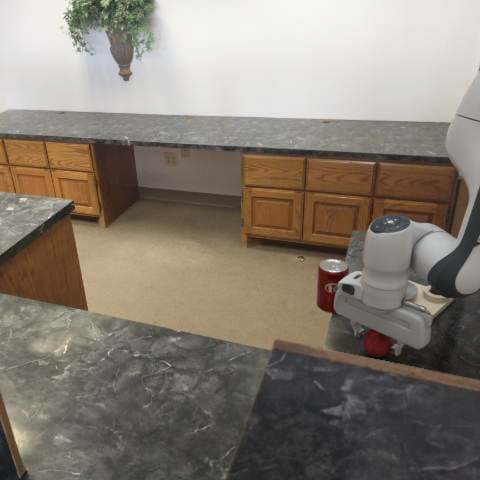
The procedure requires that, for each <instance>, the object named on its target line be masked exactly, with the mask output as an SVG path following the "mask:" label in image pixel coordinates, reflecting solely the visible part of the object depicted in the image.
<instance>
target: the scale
mask: <svg viewBox="0 0 480 480" xmlns="http://www.w3.org/2000/svg"><path fill="white" fill-rule="evenodd" d="M408 282H410V283H412V284H414V285H415V286H416V287H417V289H418V293H417V295H416V296H415V297H413V298H411V299H407V300H409V301H411V302H413V303H415V304H417V305H422V306H424V307H426V308H427V310H428V311H429V312H430V313H431V314H432V315H433V320H434V319H435V318H436V317H437V316H438V315H439V314H441V313H442V312H443V311H444V310H445V309H447V307H448V306H449V305H451V304H452V303H453V302H454V300H455V298H445V297H443V296H441V295H434V294H432V293H431V292H430V290H431V285H430V284H428V285H424V284H422V283H421V284H420V283H417V282H414V281H413V280H409V279H408Z"/></svg>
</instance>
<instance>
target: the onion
mask: <svg viewBox="0 0 480 480" xmlns="http://www.w3.org/2000/svg"><path fill="white" fill-rule="evenodd" d="M392 340H393V338H391V337H388V336H386V335H384V334H382V333H380V332H377V331H375V330H373V329H371V328H370V329H368V331H367V332H366V333H364V336H363V339H362V344H363V348H364V350H365V351H366V352H367V353H368V354H369V355H370V356H372V357H376V358H381V357H384V356H386V355H388V354H389V353H390V352H391V347H392V346H393V341H392Z"/></svg>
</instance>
